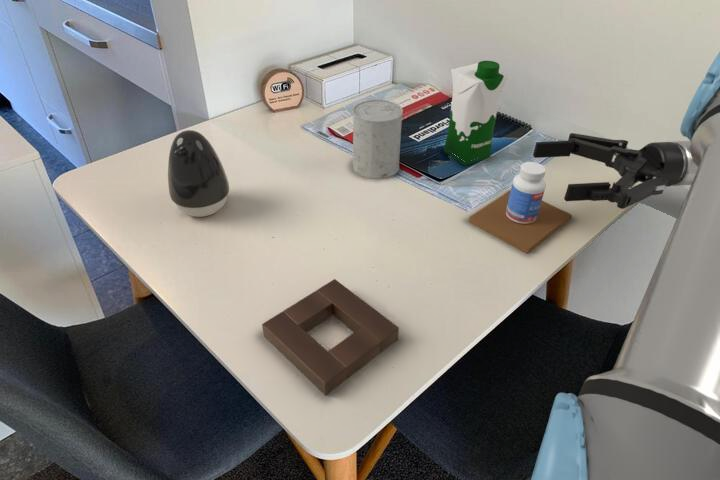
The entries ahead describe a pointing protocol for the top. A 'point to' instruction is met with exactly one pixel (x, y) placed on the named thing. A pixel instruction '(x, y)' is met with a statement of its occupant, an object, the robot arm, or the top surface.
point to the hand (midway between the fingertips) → (550, 170)
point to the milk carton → (474, 111)
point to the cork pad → (517, 233)
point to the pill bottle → (526, 193)
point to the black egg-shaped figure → (196, 175)
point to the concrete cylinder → (376, 138)
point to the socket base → (347, 355)
